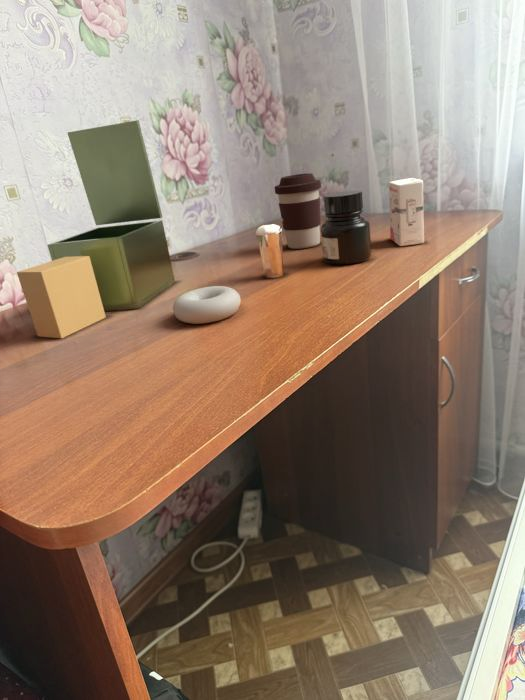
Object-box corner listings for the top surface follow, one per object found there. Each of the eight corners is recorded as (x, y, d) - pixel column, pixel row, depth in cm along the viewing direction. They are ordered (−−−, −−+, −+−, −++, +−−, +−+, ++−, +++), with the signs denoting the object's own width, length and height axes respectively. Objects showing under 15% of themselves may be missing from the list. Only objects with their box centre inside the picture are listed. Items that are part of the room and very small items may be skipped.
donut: (217, 330, 67) (255, 305, 75) (212, 306, 66) (251, 283, 73) (161, 326, 72) (202, 302, 80) (156, 303, 71) (198, 281, 79)
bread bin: (138, 308, 82) (121, 237, 77) (67, 313, 86) (47, 244, 81) (175, 282, 96) (162, 220, 91) (112, 287, 99) (97, 227, 95)
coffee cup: (335, 241, 111) (329, 170, 105) (305, 252, 105) (297, 177, 99) (302, 239, 118) (295, 173, 112) (272, 249, 112) (263, 180, 106)
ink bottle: (323, 256, 99) (318, 194, 94) (368, 251, 97) (365, 187, 93) (323, 268, 90) (317, 200, 85) (373, 263, 88) (370, 193, 84)
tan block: (61, 338, 73) (40, 271, 69) (37, 336, 75) (16, 272, 72) (106, 317, 80) (89, 255, 76) (82, 316, 82) (65, 256, 79)
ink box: (389, 239, 105) (387, 180, 101) (413, 236, 105) (411, 177, 101) (399, 247, 97) (397, 183, 93) (425, 243, 97) (424, 180, 93)
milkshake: (283, 279, 87) (276, 221, 83) (257, 279, 89) (249, 222, 86) (295, 272, 90) (289, 216, 86) (270, 272, 93) (263, 217, 89)
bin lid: (136, 120, 83) (138, 120, 84) (67, 132, 87) (69, 132, 88) (161, 218, 91) (162, 217, 91) (95, 225, 94) (97, 224, 95)
